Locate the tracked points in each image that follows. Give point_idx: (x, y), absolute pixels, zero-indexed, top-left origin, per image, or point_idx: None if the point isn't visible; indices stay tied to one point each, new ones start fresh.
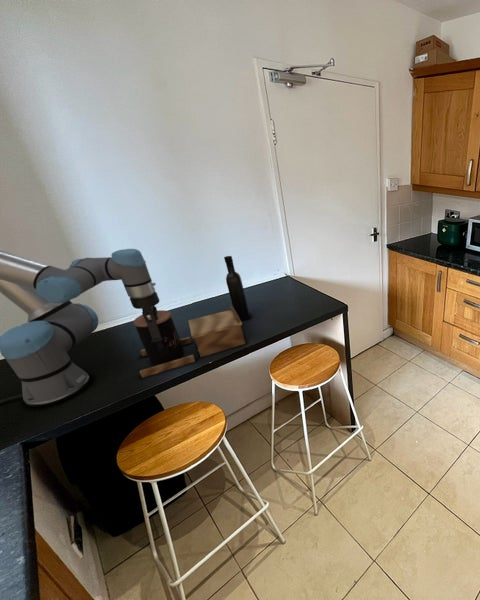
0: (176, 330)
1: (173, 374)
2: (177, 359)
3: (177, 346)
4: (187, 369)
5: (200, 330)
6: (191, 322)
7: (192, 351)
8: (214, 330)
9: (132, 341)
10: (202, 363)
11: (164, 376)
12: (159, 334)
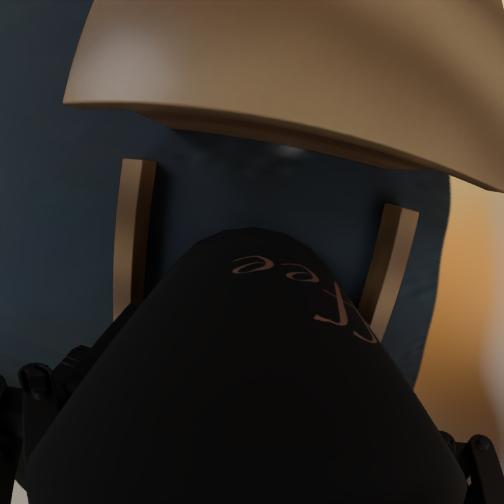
0: (260, 287)
1: (419, 316)
2: (384, 293)
3: (338, 285)
4: (434, 258)
5: (466, 78)
6: (150, 70)
7: (275, 182)
8: (501, 18)
9: (5, 362)
10: (441, 186)
11: (401, 347)
12: (501, 480)
